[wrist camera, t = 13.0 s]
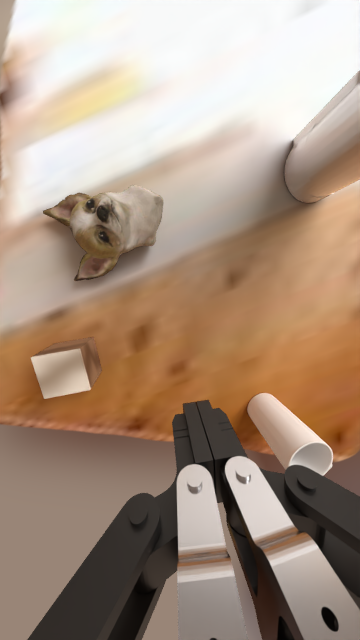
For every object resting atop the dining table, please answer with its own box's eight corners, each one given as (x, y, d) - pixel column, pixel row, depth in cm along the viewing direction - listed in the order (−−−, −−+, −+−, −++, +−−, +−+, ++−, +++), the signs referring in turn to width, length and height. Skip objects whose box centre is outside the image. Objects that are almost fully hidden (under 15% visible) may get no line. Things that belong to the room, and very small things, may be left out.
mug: (239, 413, 37) (278, 474, 25) (257, 385, 36) (307, 434, 24) (276, 431, 39) (329, 495, 27) (295, 405, 38) (357, 459, 26)
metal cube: (79, 349, 24) (93, 336, 30) (30, 357, 24) (55, 343, 29) (90, 390, 25) (102, 370, 31) (44, 398, 25) (65, 377, 31)
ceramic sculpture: (178, 241, 21) (52, 286, 21) (175, 253, 29) (85, 285, 29) (144, 133, 18) (2, 183, 18) (151, 180, 27) (53, 214, 27)
